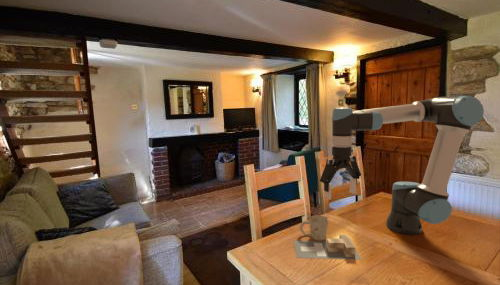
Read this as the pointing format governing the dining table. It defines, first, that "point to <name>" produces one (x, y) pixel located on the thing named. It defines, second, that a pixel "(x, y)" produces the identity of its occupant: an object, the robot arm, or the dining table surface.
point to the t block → (341, 245)
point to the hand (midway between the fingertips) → (340, 195)
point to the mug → (316, 227)
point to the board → (319, 251)
